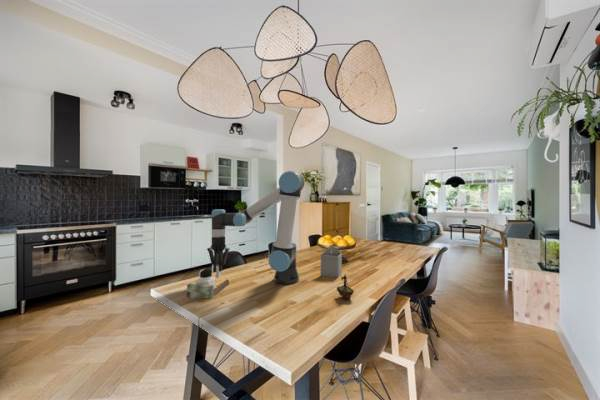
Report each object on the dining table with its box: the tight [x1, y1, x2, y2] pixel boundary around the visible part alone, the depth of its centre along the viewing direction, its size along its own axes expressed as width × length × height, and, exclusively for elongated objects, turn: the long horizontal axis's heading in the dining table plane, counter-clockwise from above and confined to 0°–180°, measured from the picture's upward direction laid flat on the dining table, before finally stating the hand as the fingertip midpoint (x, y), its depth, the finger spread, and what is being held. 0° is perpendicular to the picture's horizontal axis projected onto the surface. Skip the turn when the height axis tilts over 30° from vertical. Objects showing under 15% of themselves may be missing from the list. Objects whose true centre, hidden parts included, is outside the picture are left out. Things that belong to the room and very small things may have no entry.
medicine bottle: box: [195, 268, 216, 289], centre depth 125 cm, size 7×7×12 cm
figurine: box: [336, 274, 355, 300], centre depth 120 cm, size 10×8×12 cm
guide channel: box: [186, 279, 230, 299], centre depth 128 cm, size 13×20×6 cm, turn 172°
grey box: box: [320, 244, 343, 279], centre depth 154 cm, size 16×8×19 cm, turn 116°
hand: (218, 276), depth 138 cm, fingers closed
